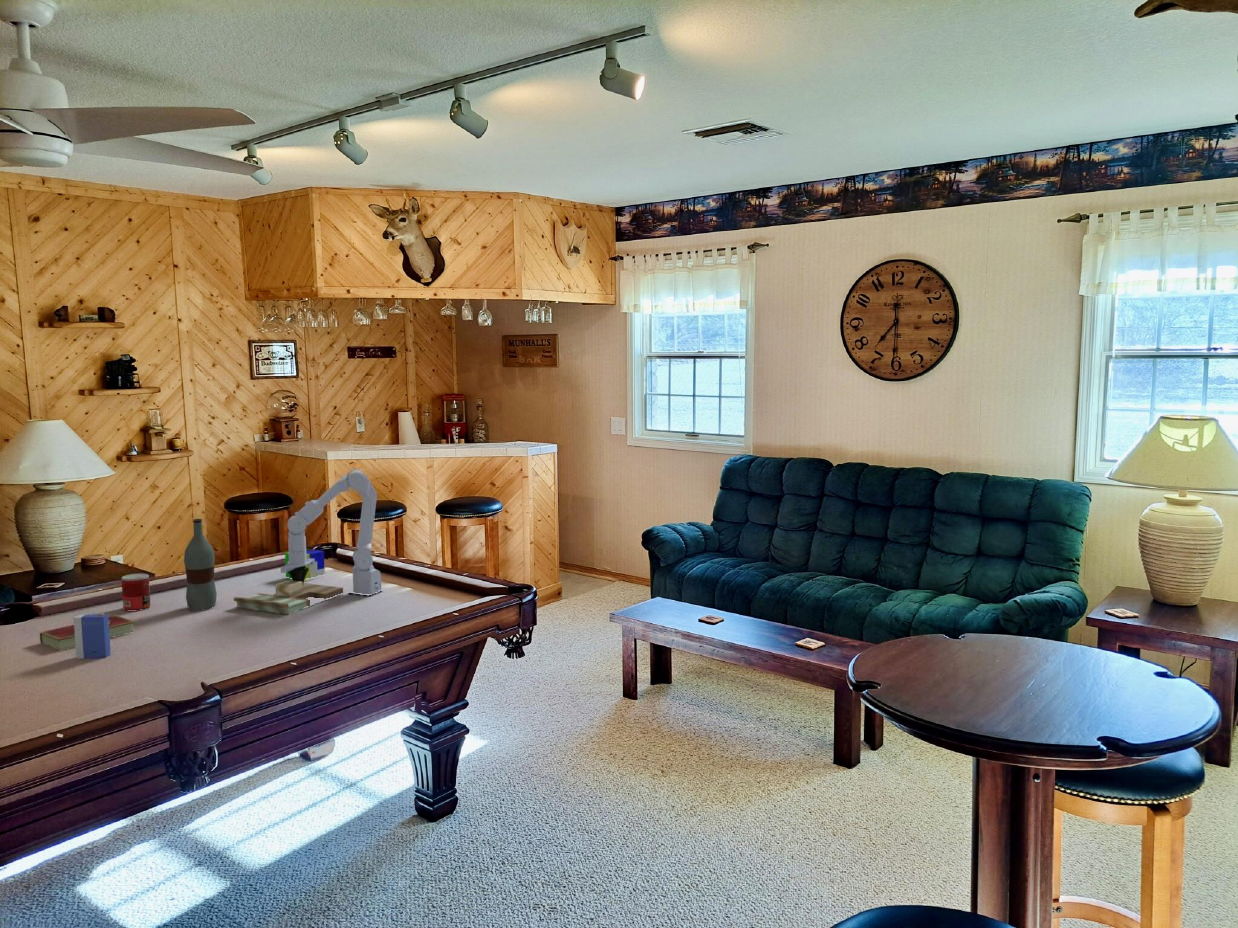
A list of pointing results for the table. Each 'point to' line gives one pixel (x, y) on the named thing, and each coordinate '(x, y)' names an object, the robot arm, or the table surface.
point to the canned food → (136, 591)
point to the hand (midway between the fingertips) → (298, 588)
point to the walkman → (92, 636)
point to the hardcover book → (66, 635)
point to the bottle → (200, 571)
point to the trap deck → (287, 599)
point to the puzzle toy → (313, 569)
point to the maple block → (289, 588)
